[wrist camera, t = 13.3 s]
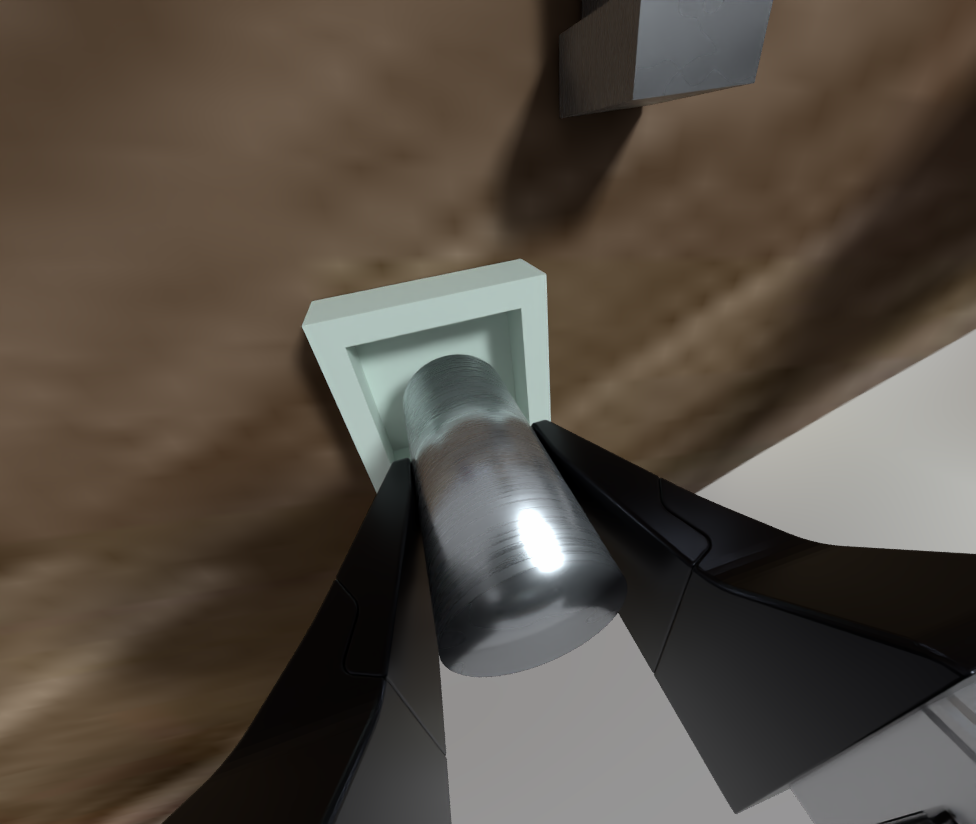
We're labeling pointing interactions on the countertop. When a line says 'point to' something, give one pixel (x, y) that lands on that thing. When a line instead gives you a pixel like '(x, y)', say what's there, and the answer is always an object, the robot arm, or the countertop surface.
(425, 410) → the polished steel rod
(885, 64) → the countertop surface
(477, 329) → the tray
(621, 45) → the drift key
